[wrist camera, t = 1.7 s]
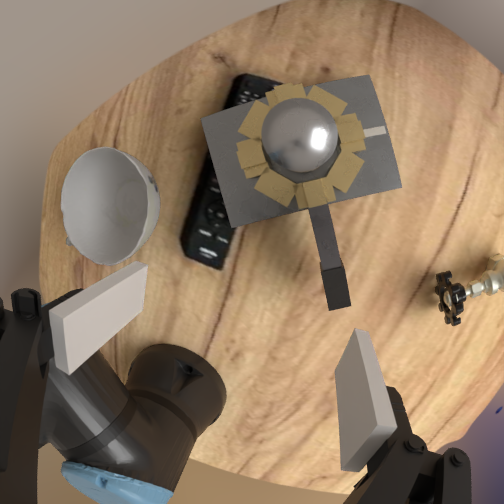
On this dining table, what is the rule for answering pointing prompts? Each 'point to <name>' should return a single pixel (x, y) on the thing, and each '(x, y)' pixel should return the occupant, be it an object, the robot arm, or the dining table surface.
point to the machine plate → (266, 206)
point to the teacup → (109, 205)
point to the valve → (468, 288)
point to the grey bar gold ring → (312, 191)
